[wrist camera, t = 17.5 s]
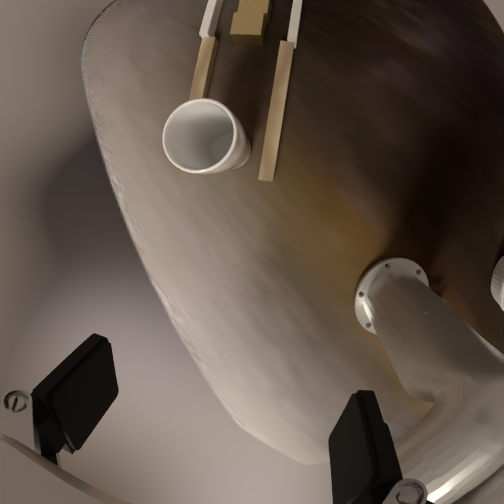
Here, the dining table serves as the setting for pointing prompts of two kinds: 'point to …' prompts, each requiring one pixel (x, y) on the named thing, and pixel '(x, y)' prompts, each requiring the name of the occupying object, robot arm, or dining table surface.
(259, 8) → the tan cube
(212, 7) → the u-shaped frame
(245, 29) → the wooden cube
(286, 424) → the dining table surface
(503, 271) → the ramekin
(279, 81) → the channel
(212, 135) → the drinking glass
